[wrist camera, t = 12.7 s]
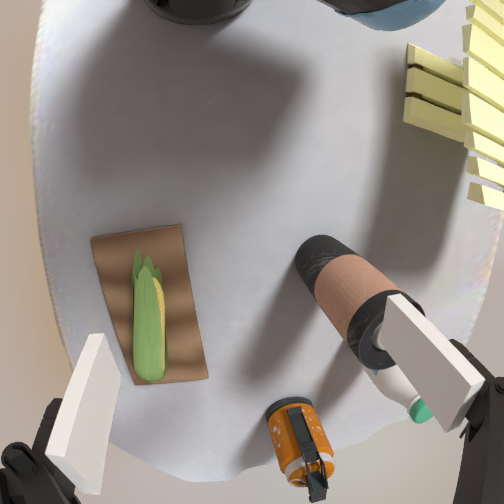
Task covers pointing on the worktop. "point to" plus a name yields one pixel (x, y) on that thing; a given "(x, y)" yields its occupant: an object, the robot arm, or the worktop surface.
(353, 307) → the travel mug
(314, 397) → the worktop surface
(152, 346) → the edible corn
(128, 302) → the serving board
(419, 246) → the worktop surface
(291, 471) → the canister
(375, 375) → the milk bottle
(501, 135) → the slatted curved stool
